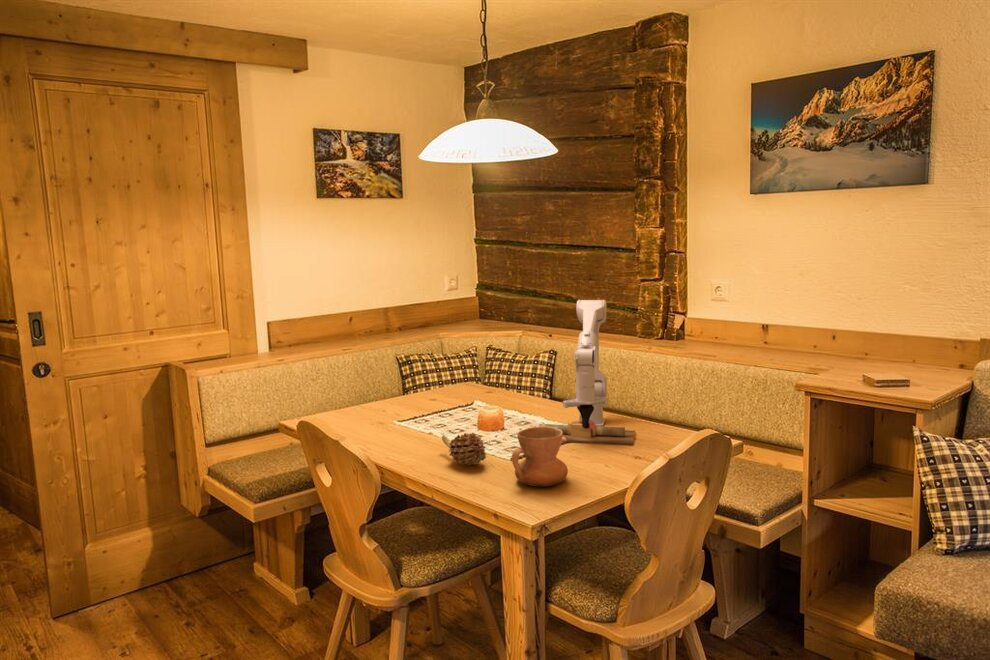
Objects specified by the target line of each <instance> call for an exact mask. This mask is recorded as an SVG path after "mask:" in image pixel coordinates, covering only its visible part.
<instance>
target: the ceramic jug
mask: <svg viewBox="0 0 990 660" xmlns="http://www.w3.org/2000/svg"><path fill="white" fill-rule="evenodd" d="M516 434H517V435H516V436H517V440H518V443H519V446H520V447H518V448H515V449H514V450H513V451H512V454H511V461H512V462H511V463H512V466H513V468H514V476H515V477H516V479H517V480H518V481H519V482H521V483H523V484H524V485H529V486H532V487H538V488H539V487H541V488H542V487H551V486H554V485H557V484H560V483H561V482H563V481H564V480H565V479H566V478H567V476H568V473H569V471H568V470H569V469H568V465H567V464H566V463H565V462H563V461H562V460H561V459H559V458H557V456H558V453H559V451H560V448H561V444H562V443H564V442H566V438H565V437H562V436H563V433H562V431H561V430H560V429H559V430H557V428H554V427H547V426H541V427H539V426H533V427H531V426H530V427H527V428H524V429H521V430H519V431H518V432H517V433H516ZM541 437H548V438H545V439H541ZM521 454H523V455H524V457H525V459H523V460H522V461H521V462H520V463H519V458H520V455H521Z"/></svg>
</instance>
